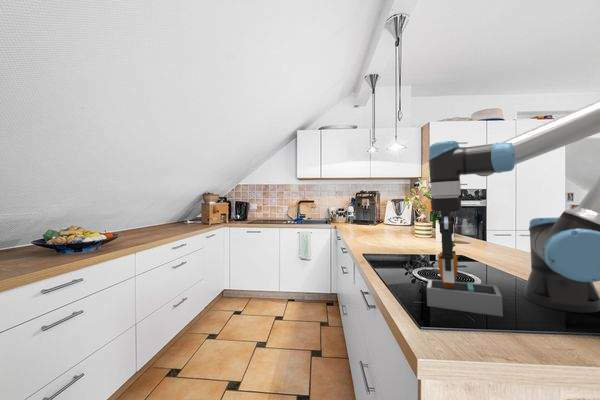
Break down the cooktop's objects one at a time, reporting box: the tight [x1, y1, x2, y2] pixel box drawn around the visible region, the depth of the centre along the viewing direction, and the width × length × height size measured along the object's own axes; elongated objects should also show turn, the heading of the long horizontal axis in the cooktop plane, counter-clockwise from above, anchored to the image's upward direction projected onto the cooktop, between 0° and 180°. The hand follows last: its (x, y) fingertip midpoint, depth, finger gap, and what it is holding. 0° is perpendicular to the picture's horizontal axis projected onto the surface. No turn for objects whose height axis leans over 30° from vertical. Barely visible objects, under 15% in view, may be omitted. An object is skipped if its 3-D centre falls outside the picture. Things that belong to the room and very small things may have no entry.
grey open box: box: [426, 278, 504, 317], centre depth 75 cm, size 17×9×5 cm, turn 61°
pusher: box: [466, 281, 474, 292], centre depth 74 cm, size 1×6×4 cm, turn 151°
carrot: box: [437, 240, 458, 290], centre depth 76 cm, size 5×5×15 cm
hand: (448, 279), depth 76 cm, fingers closed on carrot, 5 cm apart
